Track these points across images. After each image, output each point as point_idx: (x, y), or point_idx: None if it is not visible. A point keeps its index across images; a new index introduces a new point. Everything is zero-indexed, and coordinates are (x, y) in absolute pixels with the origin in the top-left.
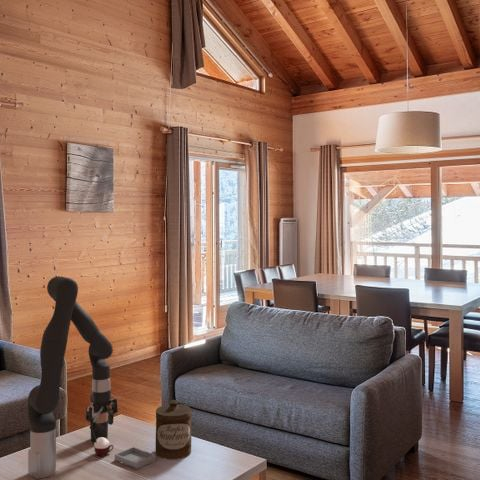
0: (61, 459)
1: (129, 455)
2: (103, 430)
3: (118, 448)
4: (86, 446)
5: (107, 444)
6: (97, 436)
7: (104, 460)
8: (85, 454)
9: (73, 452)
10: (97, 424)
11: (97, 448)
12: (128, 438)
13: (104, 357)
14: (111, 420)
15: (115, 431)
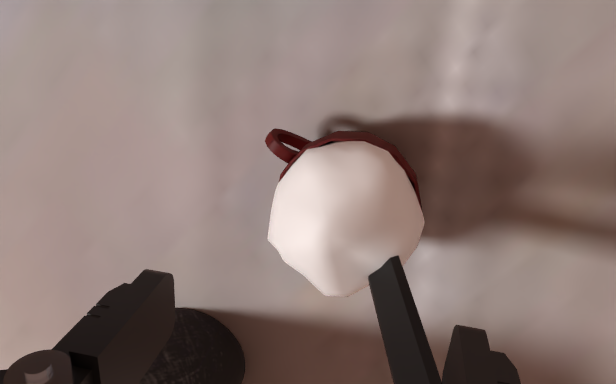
0: (599, 369)
1: None
2: (157, 370)
3: (200, 145)
4: (321, 358)
5: (339, 150)
6: (217, 366)
7: (443, 71)
8: (431, 282)
9: None
10: None
11: (420, 202)
12: (43, 206)
13: None
14: (137, 307)
15: (45, 346)
